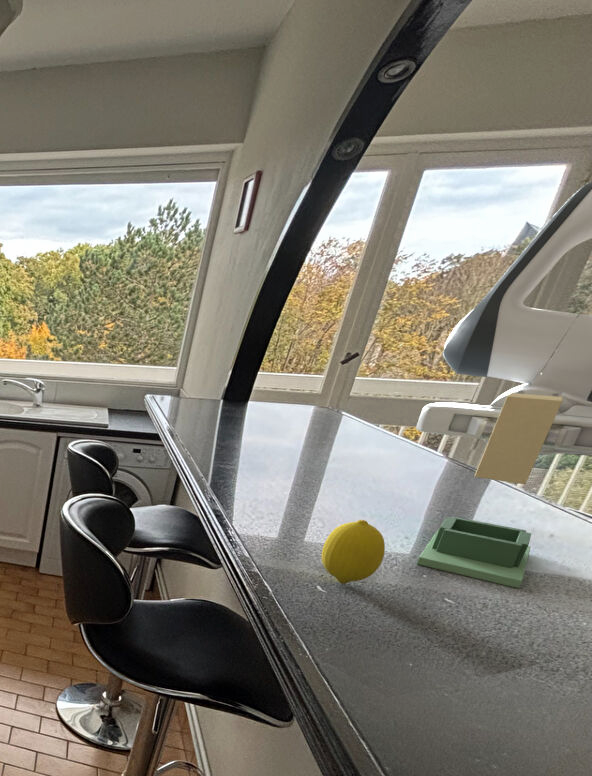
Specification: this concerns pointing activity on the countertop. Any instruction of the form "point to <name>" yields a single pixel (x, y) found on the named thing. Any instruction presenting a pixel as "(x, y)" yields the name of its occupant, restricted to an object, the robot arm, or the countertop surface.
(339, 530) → the lemon
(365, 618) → the countertop surface
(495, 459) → the cream pad
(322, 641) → the countertop surface
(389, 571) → the countertop surface
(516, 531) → the base holder
